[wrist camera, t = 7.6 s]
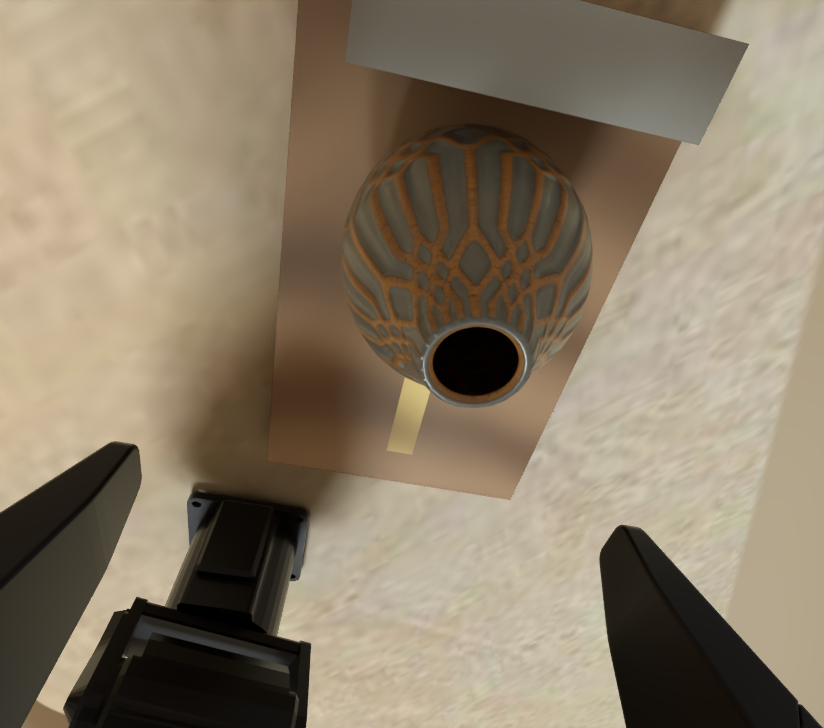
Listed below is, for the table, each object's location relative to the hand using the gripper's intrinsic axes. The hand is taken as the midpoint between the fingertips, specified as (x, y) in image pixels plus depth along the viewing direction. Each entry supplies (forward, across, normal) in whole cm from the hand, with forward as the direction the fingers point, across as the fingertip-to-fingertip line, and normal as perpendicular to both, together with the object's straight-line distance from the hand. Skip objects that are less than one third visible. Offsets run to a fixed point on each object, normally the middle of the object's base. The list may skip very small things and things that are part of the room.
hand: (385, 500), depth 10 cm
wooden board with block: (+13, -2, +2) cm, 13 cm away
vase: (+11, -2, -2) cm, 12 cm away
